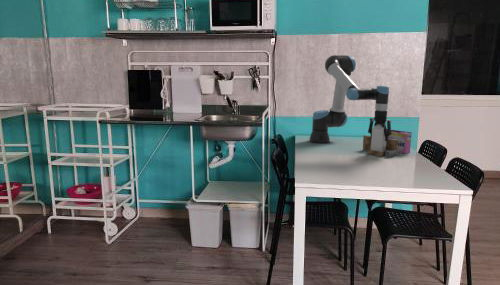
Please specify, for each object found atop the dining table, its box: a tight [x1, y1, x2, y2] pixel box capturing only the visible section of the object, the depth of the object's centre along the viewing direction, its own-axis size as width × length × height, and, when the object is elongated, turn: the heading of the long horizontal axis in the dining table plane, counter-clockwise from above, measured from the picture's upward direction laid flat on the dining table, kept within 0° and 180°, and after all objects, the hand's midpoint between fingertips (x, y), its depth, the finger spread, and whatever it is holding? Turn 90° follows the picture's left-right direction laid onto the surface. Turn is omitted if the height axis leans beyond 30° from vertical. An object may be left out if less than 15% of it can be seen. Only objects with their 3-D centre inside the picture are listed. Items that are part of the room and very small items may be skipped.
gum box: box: [388, 129, 413, 154], centre depth 270 cm, size 24×8×14 cm, turn 43°
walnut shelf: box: [362, 134, 398, 158], centre depth 258 cm, size 24×12×10 cm, turn 44°
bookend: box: [384, 149, 397, 159], centre depth 251 cm, size 2×10×4 cm, turn 134°
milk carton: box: [371, 123, 387, 154], centre depth 255 cm, size 7×7×19 cm
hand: (378, 144), depth 256 cm, fingers open, 8 cm apart
